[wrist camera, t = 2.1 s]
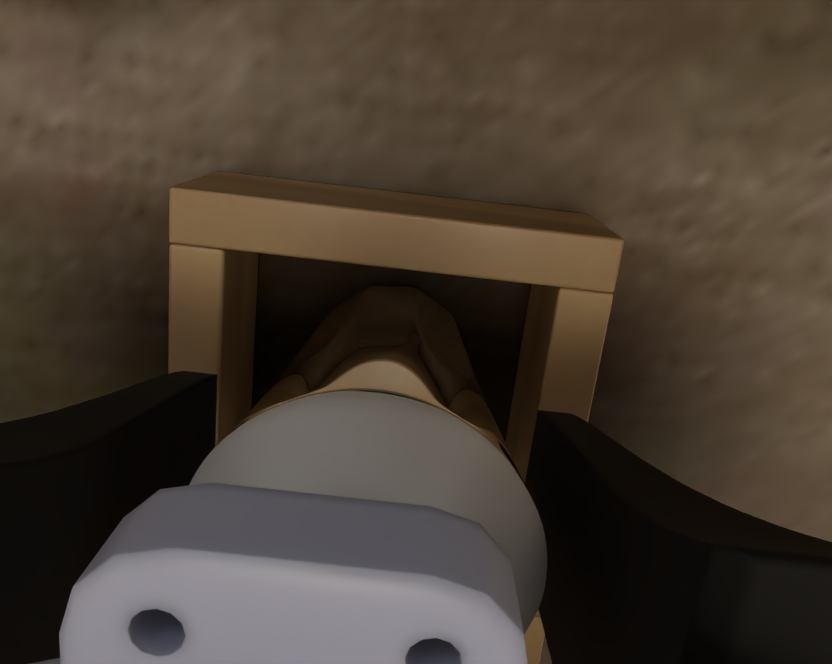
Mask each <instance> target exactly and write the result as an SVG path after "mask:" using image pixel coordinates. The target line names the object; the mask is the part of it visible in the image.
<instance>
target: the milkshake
mask: <svg viewBox="0 0 832 664" xmlns="http://www.w3.org/2000/svg"><path fill="white" fill-rule="evenodd" d="M204 483H219V484H229V485H238V486H247V487H257V488H266V489H275V490H284V491H294V492H303V493H312V494H321V495H331V496H340V497H349V498H359V499H368V500H377V501H386V502H396V503H405V504H414V505H424V506H432V507H435V508H437V509H440V510H443V511H446V512H449V513H452V514H454V515H457V516H460V517H463V518H466V519H468V520H471V521H474V522H477V523H480V524H481V526H482V527H483V528H484V529H485V530H486V531H487V532H488V534H489V535H490V536H491V537H492V538H493V539H494V540H495V542H496V543H497V544H498V545H499V546H500V547H501V548H502V550H503V551H504V552H505V553H506V554H507V555H508V556H509V558H510V559H511V565H512V570H513V576H514V581H515V587H516V593H517V598H518V604H519V609H520V615H521V621H522V626H523V632H524V634H525V633H526V631H527V629H528V627H529V626H530V624H531V622H532V620H533V618H534V617H535V615H536V613H537V611H538V608H539V606H540V603H541V600H542V597H543V593H544V589H545V583H546V576H547V547H546V539H545V534H544V529H543V525H542V522H541V519H540V516H539V514H538V511H537V509H536V506H535V504H534V502H533V500H532V498H531V496H530V494H529V492H528V490H527V488H526V486H525V484H524V482H523V479H522V477H521V475H520V473H519V471H518V469H517V467H516V464H515V462H514V460H513V458H512V456H511V454H510V451H509V449H508V447H507V445H506V443H505V441H504V439H503V437H502V434H501V432H500V430H499V428H498V426H497V424H496V422H495V419H494V417H493V415H492V413H491V411H490V409H489V407H488V405H487V403H486V400H485V398H484V396H483V394H482V391H481V389H480V386H479V384H478V381H477V379H476V376H475V374H474V371H473V368H472V366H471V363H470V360H469V358H468V355H467V352H466V350H465V347H464V344H463V342H462V339H461V336H460V333H459V331H458V328H457V325H456V323H455V320H454V318H453V315H452V314H450V313H449V312H448V311H446V310H445V309H444V308H442V307H441V306H440V305H439V304H437V303H436V302H435V301H433V300H432V299H431V298H429V297H428V296H427V295H426V294H424V293H423V292H422V291H420V290H419V289H418V288H417V287H399V286H376V285H370V286H368V287H367V288H365V289H364V290H362V291H361V292H359V293H358V294H356V295H355V296H353V297H352V298H350V299H349V300H347V301H345V302H344V303H342V304H341V305H339V306H338V307H336V308H335V309H333V310H332V311H331V312H330V313H329V314H328V316H327V317H326V318H325V319H324V321H323V322H322V323H321V325H320V326H319V327H318V328H317V330H316V331H315V332H314V333H313V335H312V336H311V337H310V338H309V340H308V341H307V342H306V343H305V345H304V346H303V347H302V349H301V350H300V351H299V352H298V354H297V355H296V356H295V357H294V359H293V360H292V361H291V363H290V364H289V365H288V366H287V368H286V369H285V370H284V372H283V373H282V374H281V375H280V377H279V378H278V379H277V381H276V382H275V383H274V384H273V386H272V387H271V388H270V389H269V390H268V391H267V392H266V394H265V395H264V396H263V397H262V398H261V399H260V400H259V401H258V402H257V404H256V405H255V406H254V407H253V408H252V409H251V410H250V411H249V412H248V414H247V415H246V416H245V417H244V418H243V419H242V420H241V421H240V422H239V424H238V425H237V426H236V427H235V428H234V429H233V430H232V431H231V432H230V433H229V435H228V436H227V437H226V438H224V439H223V440H222V441H221V442H220V443H219V444H218V445H217V446H216V447H215V448H214V449H213V450H212V451H211V452H210V454H209V455H208V456H207V457H206V458H205V460H204V461H203V462H202V464H201V465H200V467H199V468H198V470H197V472H196V473H195V475H194V477H193V478H192V480H191V482H190V484H189V485H196V484H204Z"/></svg>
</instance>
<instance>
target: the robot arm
mask: <svg viewBox="0 0 832 664" xmlns="http://www.w3.org/2000/svg"><path fill="white" fill-rule="evenodd" d="M216 404H217V374H208V373H199V372H190V371H178V372H173V373H169V374H166V375H162V376H159V377H156V378H153V379H150V380H147V381H145V382H142V383H139V384H136V385H133V386H130V387H128V388H125V389H122V390H119V391H116V392H114V393H111V394H108V395H105V396H102V397H99V398H95V399H92V400H89V401H86V402H82V403H79V404H76V405H73V406H70V407H66V408H63V409H60V410H56V411H53V412H49V413H45V414H41V415H37V416H33V417H28V418H24V419H19V420H14V421H10V422H5V423H0V664H528V662H527V654H526V646H525V639H524V632H523V626H522V621H521V615H520V609H519V604H518V598H517V593H516V587H515V581H514V576H513V570H512V565H511V559H510V558H509V556H508V555H507V554H506V553H505V552H504V551H503V550H502V548H501V547H500V546H499V545H498V544H497V543H496V542H495V540H494V539H493V538H492V537H491V536H490V535H489V534H488V532H487V531H486V530H485V529H484V528H483V527H482V526H481V524H480V523H477V522H474V521H471V520H468V519H466V518H463V517H460V516H457V515H454V514H452V513H449V512H446V511H443V510H440V509H437V508H435V507H432V506H424V505H414V504H405V503H396V502H386V501H377V500H368V499H359V498H349V497H340V496H331V495H321V494H312V493H303V492H294V491H284V490H275V489H266V488H257V487H247V486H238V485H229V484H219V483H204V484H196V485H189V484H190V482H191V480H192V478H193V477H194V475H195V473H196V472H197V470H198V468H199V467H200V465H201V464H202V462H203V461H204V460H205V458H206V457H207V456H208V455H209V454H210V452H211V451H212V450H213V449H214V448H215V436H216ZM525 486H526V488H527V490H528V492H529V494H530V496H531V498H532V500H533V502H534V504H535V506H536V509H537V511H538V514H539V516H540V519H541V522H542V525H543V529H544V534H545V539H546V547H547V576H546V583H545V589H544V593H543V597H542V600H541V603H540V606H539V608H538V610H539V613H540V617H541V621H542V625H543V629H544V633H545V636H546V640H547V644H548V648H549V652H550V655H551V660H552V664H832V542H829V541H825V540H822V539H818V538H815V537H812V536H808V535H805V534H802V533H799V532H796V531H792V530H789V529H786V528H783V527H780V526H777V525H775V524H772V523H769V522H767V521H764V520H762V519H759V518H756V517H754V516H751V515H749V514H746V513H743V512H741V511H738V510H736V509H734V508H731V507H729V506H727V505H724V504H722V503H720V502H718V501H716V500H714V499H712V498H710V497H708V496H706V495H704V494H702V493H700V492H698V491H695V490H693V489H691V488H689V487H688V486H686V485H684V484H682V483H680V482H678V481H677V480H675V479H673V478H672V477H670V476H668V475H666V474H665V473H663V472H661V471H660V470H658V469H656V468H655V467H653V466H651V465H650V464H648V463H647V462H645V461H644V460H642V459H641V458H639V457H638V456H636V455H635V454H633V453H632V452H630V451H629V450H627V449H626V448H624V447H623V446H621V445H620V444H618V443H617V442H616V441H614V440H613V439H611V438H610V437H608V436H607V435H606V434H604V433H603V432H601V431H600V430H598V429H597V428H595V427H594V426H593V425H591V424H589V423H588V422H586V421H585V420H583V419H582V418H580V417H578V416H576V415H574V414H570V413H561V412H552V411H543V410H538V411H537V417H536V423H535V428H534V434H533V440H532V445H531V451H530V456H529V462H528V468H527V473H526V479H525Z"/></svg>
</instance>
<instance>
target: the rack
mask: <svg viewBox="0 0 832 664" xmlns="http://www.w3.org/2000/svg"><path fill="white" fill-rule="evenodd" d="M169 241H170V242H171V243H172V244H171V245H170V247H169V339H168V374H169V373H173V372H178V371H190V372H199V373H208V374H217V404H216V436H215V447H216V446H217V445H218V444H219V443H220V442H221V441H222V440H223V439H224V438H226V437H227V436H228V435H229V433H230V432H231V431H232V430H233V429H234V428H235V427H236V426H237V425H238V424H239V422H240V421H241V420H242V419H243V418H244V417H245V416H246V415H247V414H248V412H249V411H250V410H251V408H252V387H253V366H254V344H255V323H256V302H257V281H258V260H259V253H263V254H272V255H281V256H290V257H298V258H307V259H316V260H325V261H334V262H342V263H351V264H360V265H369V266H378V267H386V268H395V269H404V270H413V271H422V272H431V273H439V274H448V275H457V276H466V277H475V278H483V279H492V280H501V281H510V282H519V283H527V284H531V289H530V295H529V301H528V307H527V313H526V320H525V326H524V332H523V338H522V344H521V350H520V356H519V362H518V368H517V374H516V380H515V386H514V392H513V398H512V404H511V411H510V417H509V423H508V429H507V435H506V441H505V443H506V445H507V447H508V449H509V451H510V454H511V456H512V458H513V460H514V462H515V464H516V467H517V469H518V471H519V473H520V475H521V477H522V479H523V482H524V484H525V479H526V473H527V468H528V462H529V456H530V451H531V445H532V440H533V434H534V428H535V423H536V417H537V411H538V410H543V411H552V412H561V413H570V414H574V415H576V416H578V417H580V418H582V419H583V420H585V421H586V422H588V420H589V415H590V410H591V405H592V400H593V395H594V390H595V385H596V380H597V375H598V370H599V365H600V360H601V355H602V350H603V345H604V340H605V335H606V330H607V325H608V320H609V315H610V310H611V306H612V301H613V294H612V292H614V290H615V285H616V280H617V275H618V270H619V265H620V260H621V255H622V250H623V245H624V239H622V238H621V237H620V236H618V235H617V234H615V233H614V232H613V231H611V230H610V229H608V228H607V227H605V226H604V225H603V224H601V223H600V222H598V221H597V220H596V219H594V218H593V217H591V216H590V215H588V214H584V213H575V212H567V211H558V210H549V209H541V208H532V207H523V206H515V205H506V204H497V203H489V202H480V201H471V200H463V199H454V198H445V197H437V196H428V195H419V194H411V193H402V192H393V191H385V190H376V189H367V188H359V187H350V186H341V185H333V184H324V183H315V182H307V181H298V180H290V179H281V178H272V177H264V176H255V175H246V174H238V173H229V172H220V171H218V172H215V173H212V174H209V175H206V176H203V177H200V178H197V179H194V180H191V181H188V182H185V183H182V184H179V185H176V186H173V187H170V189H169ZM544 638H545V633H544V629H543V625H542V621H541V617H540V613H539V610H538V611H537V613H536V615H535V617H534V618H533V620H532V622H531V624H530V626H529V627H528V629H527V631H526V633H525V634H524V639H525V646H526V654H527V662H528V664H539V663H540V658H541V653H542V648H543V643H544Z"/></svg>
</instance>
